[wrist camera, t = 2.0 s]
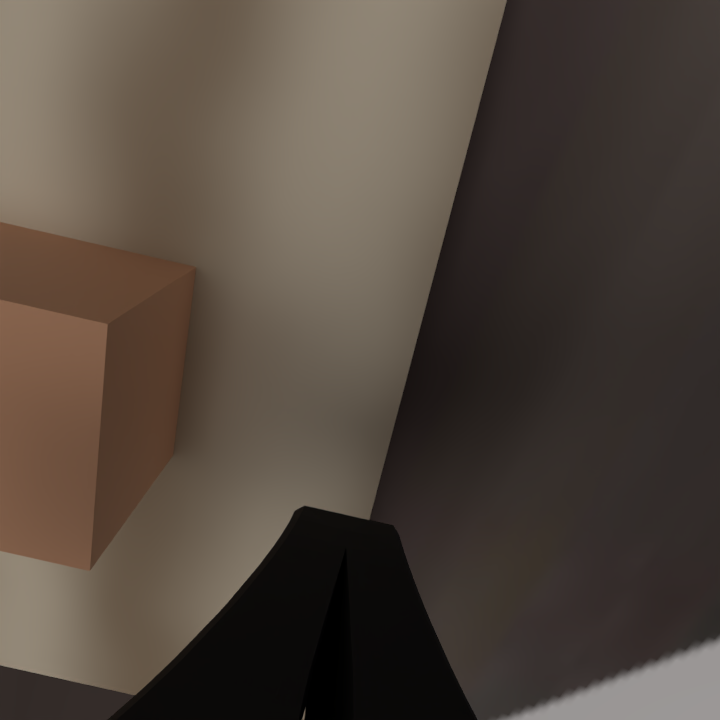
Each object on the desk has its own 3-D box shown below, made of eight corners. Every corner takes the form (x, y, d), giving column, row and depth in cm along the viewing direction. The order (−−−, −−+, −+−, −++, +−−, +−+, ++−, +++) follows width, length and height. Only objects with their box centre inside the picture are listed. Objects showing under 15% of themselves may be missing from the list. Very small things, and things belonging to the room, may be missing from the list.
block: (196, 267, 13) (107, 323, 9) (172, 455, 14) (89, 570, 10) (-20, 217, 13) (-201, 253, 9) (-19, 411, 14) (-171, 512, 10)
